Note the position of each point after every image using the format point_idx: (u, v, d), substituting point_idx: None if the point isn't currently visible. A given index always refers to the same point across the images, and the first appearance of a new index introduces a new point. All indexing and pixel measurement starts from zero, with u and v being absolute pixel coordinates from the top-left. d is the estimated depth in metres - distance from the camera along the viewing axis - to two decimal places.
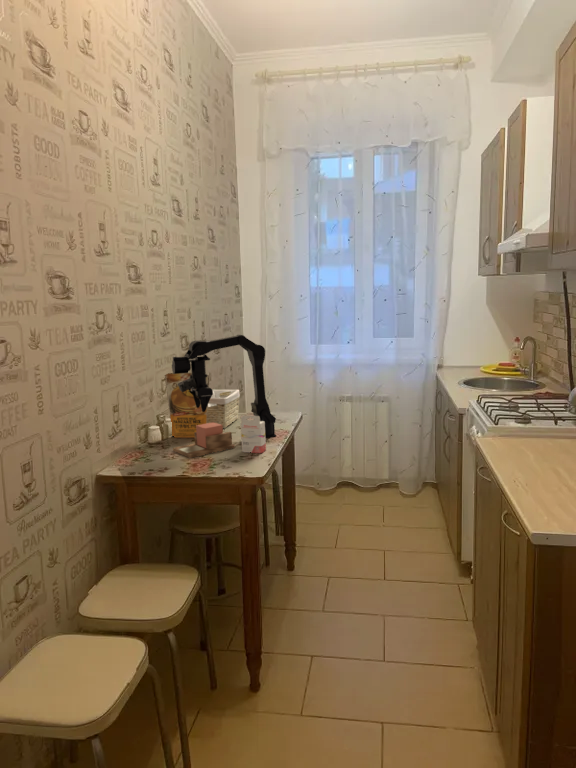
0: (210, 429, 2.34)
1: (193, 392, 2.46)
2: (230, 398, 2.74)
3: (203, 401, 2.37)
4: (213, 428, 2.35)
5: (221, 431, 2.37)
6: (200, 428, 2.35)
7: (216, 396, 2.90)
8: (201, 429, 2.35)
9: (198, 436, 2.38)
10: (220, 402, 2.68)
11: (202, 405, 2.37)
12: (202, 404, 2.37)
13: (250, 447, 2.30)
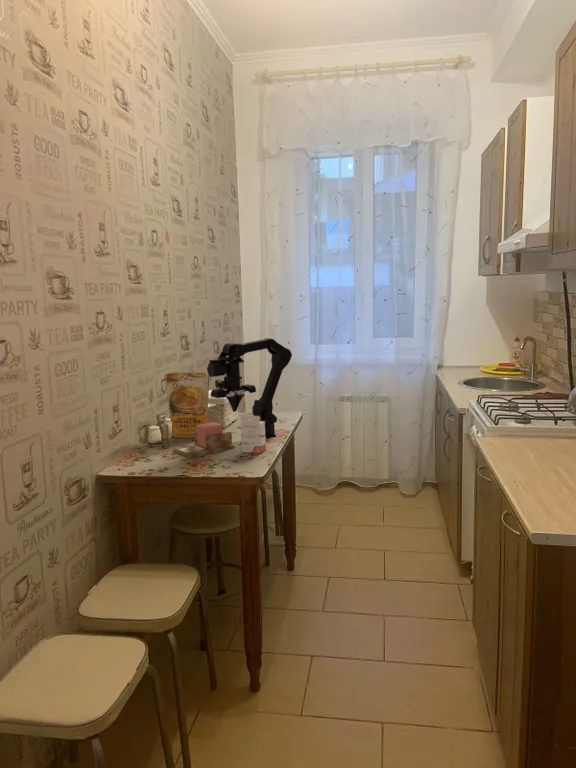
0: (210, 429, 2.34)
1: (233, 395, 2.45)
2: None
3: (231, 401, 2.43)
4: (213, 428, 2.35)
5: (221, 431, 2.37)
6: (200, 428, 2.35)
7: None
8: (201, 429, 2.35)
9: (198, 436, 2.38)
10: (220, 402, 2.68)
11: (231, 405, 2.44)
12: (231, 404, 2.44)
13: (250, 447, 2.30)
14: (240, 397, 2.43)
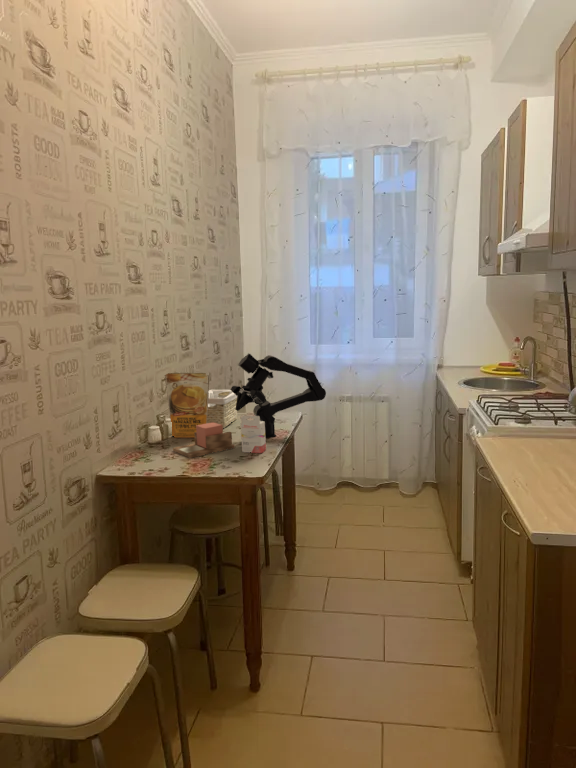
0: (210, 429, 2.34)
1: None
2: (229, 398, 2.74)
3: None
4: (213, 428, 2.35)
5: (221, 431, 2.37)
6: (200, 428, 2.35)
7: (215, 396, 2.90)
8: (201, 429, 2.35)
9: (198, 436, 2.38)
10: (219, 402, 2.68)
11: None
12: None
13: (250, 447, 2.30)
14: (242, 395, 2.45)
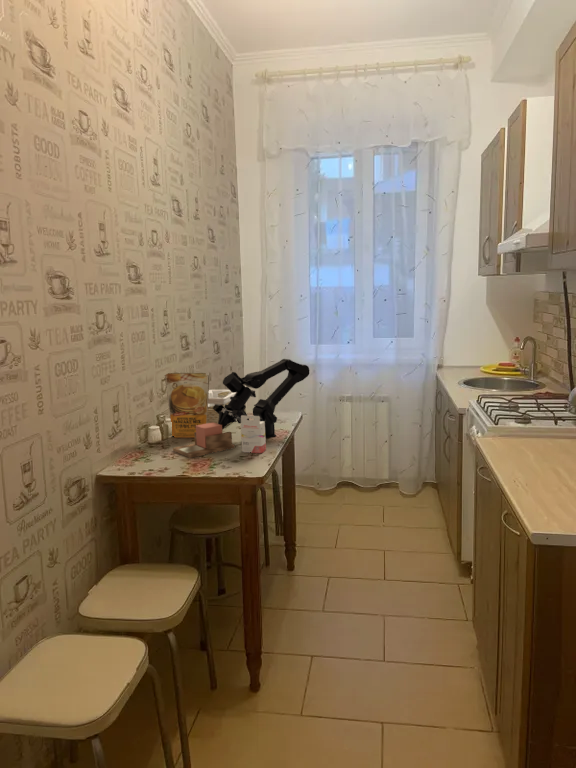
0: (210, 429, 2.34)
1: None
2: (229, 398, 2.74)
3: None
4: (213, 428, 2.35)
5: (221, 431, 2.37)
6: (200, 428, 2.35)
7: (214, 396, 2.90)
8: (201, 429, 2.35)
9: (198, 436, 2.37)
10: (219, 402, 2.68)
11: None
12: None
13: (250, 447, 2.30)
14: (224, 414, 2.40)
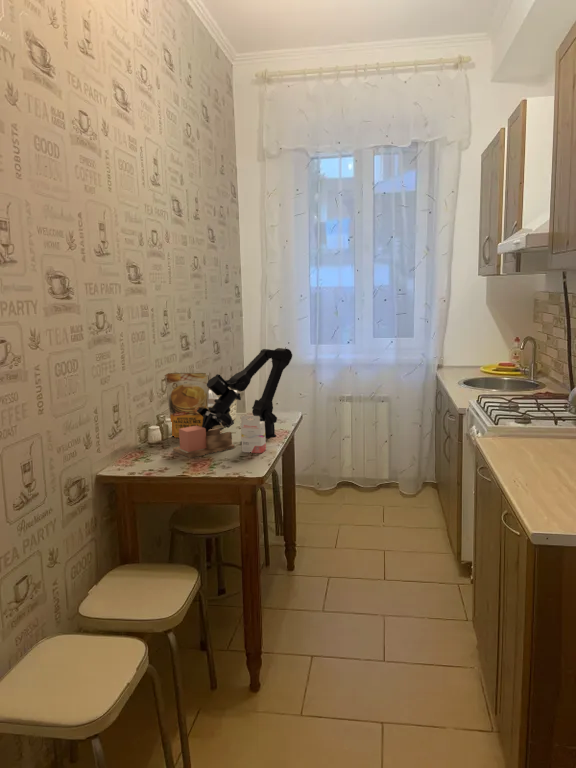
0: (193, 432, 2.29)
1: None
2: None
3: None
4: (196, 431, 2.30)
5: (204, 434, 2.33)
6: (183, 431, 2.31)
7: (214, 396, 2.90)
8: (184, 432, 2.30)
9: (181, 440, 2.33)
10: None
11: None
12: None
13: (250, 447, 2.30)
14: (208, 417, 2.35)
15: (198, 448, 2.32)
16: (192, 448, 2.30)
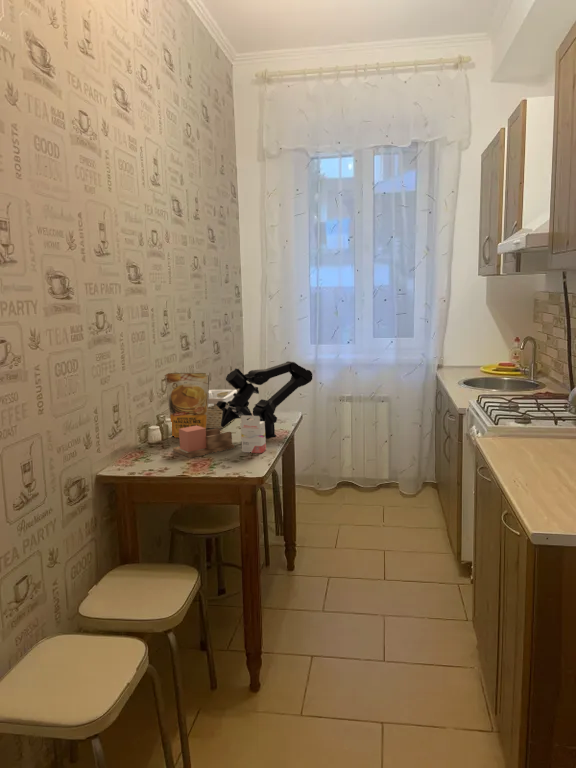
0: (193, 432, 2.29)
1: None
2: (228, 398, 2.74)
3: None
4: (196, 431, 2.30)
5: (204, 434, 2.33)
6: (183, 431, 2.31)
7: (214, 396, 2.90)
8: (184, 432, 2.30)
9: (181, 440, 2.33)
10: None
11: None
12: None
13: (250, 447, 2.30)
14: (227, 411, 2.41)
15: (198, 448, 2.32)
16: (192, 448, 2.30)
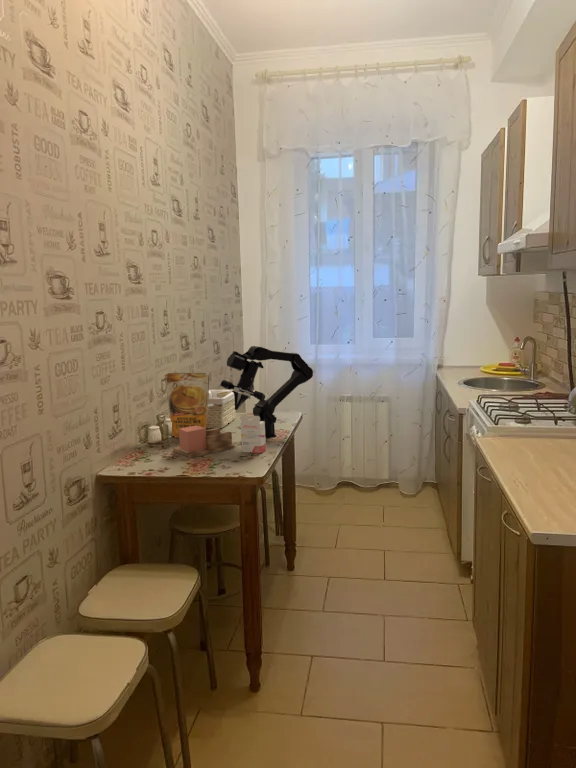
0: (193, 432, 2.29)
1: None
2: (227, 398, 2.74)
3: None
4: (196, 431, 2.30)
5: (204, 434, 2.33)
6: (183, 431, 2.31)
7: (213, 396, 2.90)
8: (184, 432, 2.30)
9: (181, 440, 2.33)
10: (217, 402, 2.68)
11: None
12: None
13: (250, 447, 2.30)
14: (242, 396, 2.44)
15: (198, 448, 2.32)
16: (192, 448, 2.30)
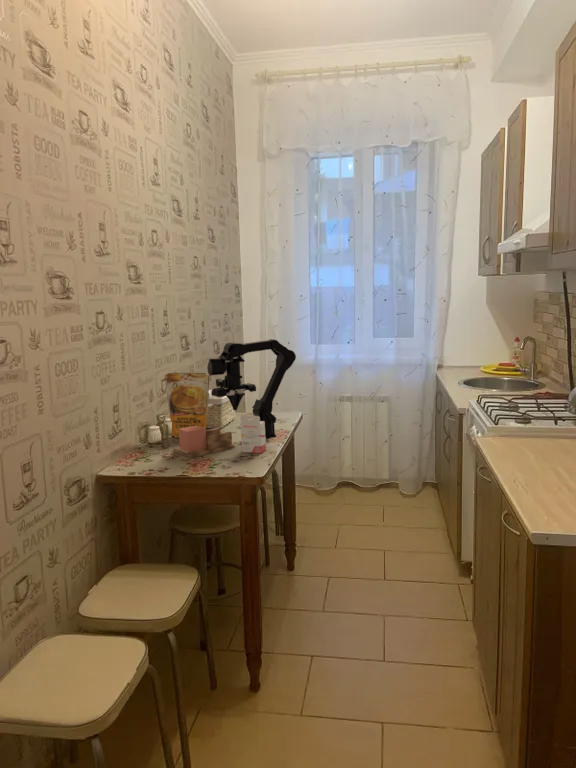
0: (193, 432, 2.29)
1: None
2: (227, 398, 2.74)
3: (231, 400, 2.46)
4: (196, 431, 2.30)
5: (204, 434, 2.33)
6: (183, 431, 2.31)
7: (213, 396, 2.90)
8: (184, 432, 2.30)
9: (181, 440, 2.33)
10: (217, 402, 2.68)
11: (231, 403, 2.47)
12: (231, 402, 2.47)
13: (250, 447, 2.30)
14: (240, 396, 2.45)
15: (198, 448, 2.32)
16: (192, 448, 2.30)
